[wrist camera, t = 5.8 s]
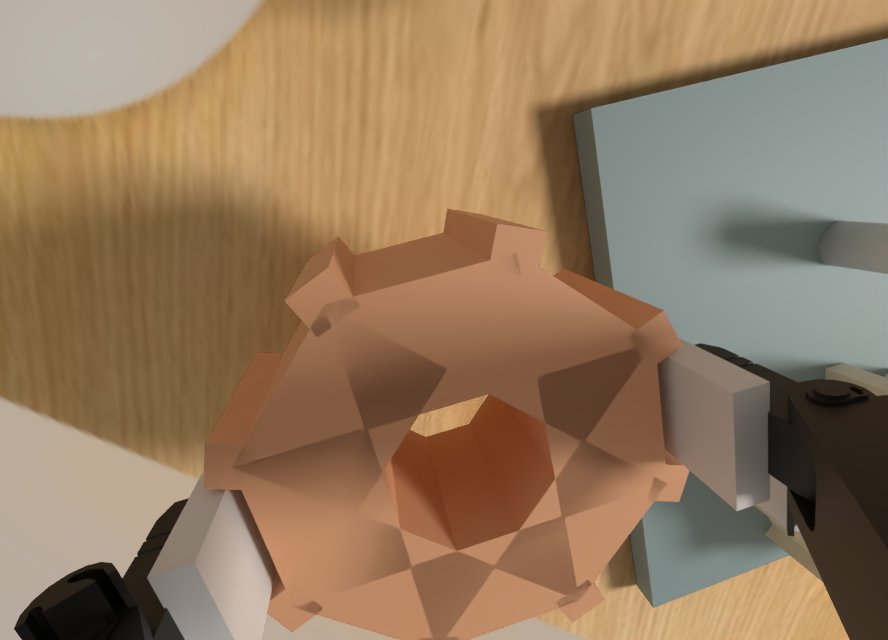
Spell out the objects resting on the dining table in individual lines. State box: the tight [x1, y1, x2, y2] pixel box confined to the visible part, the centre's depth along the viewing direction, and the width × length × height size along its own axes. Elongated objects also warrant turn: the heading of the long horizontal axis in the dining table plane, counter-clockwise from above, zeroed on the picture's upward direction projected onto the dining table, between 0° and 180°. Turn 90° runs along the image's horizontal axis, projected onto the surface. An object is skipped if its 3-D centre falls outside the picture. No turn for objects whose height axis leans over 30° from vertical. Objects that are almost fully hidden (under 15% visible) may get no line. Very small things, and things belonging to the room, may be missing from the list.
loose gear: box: [204, 209, 690, 640], centre depth 12 cm, size 10×10×5 cm
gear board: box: [573, 38, 888, 608], centre depth 20 cm, size 25×18×7 cm
